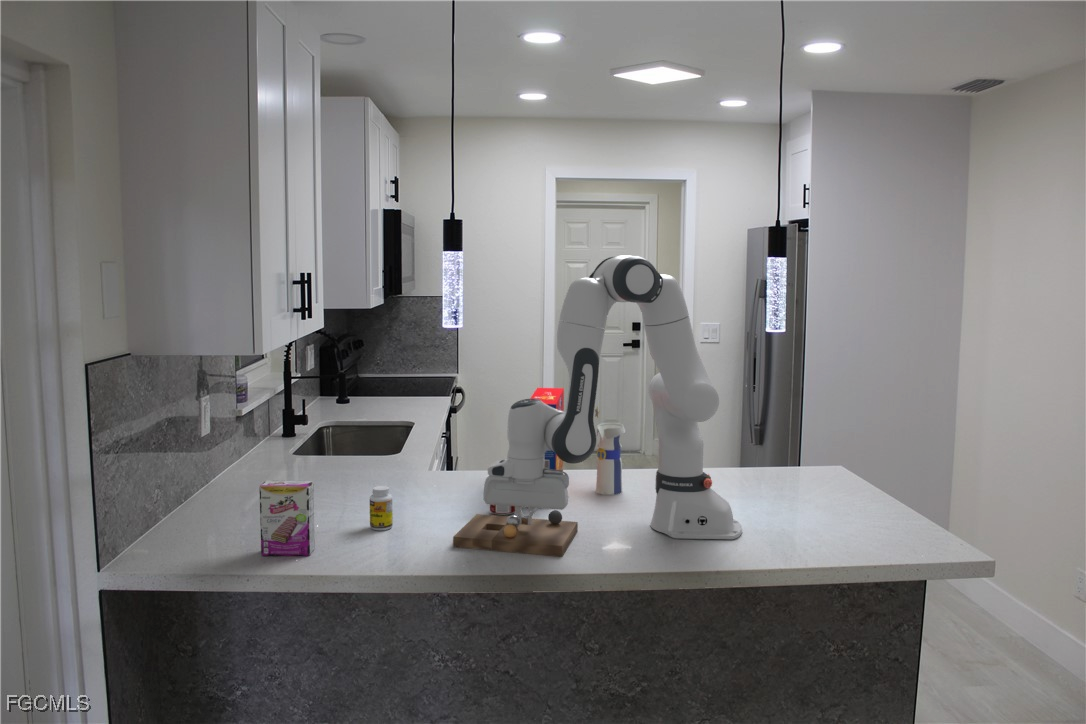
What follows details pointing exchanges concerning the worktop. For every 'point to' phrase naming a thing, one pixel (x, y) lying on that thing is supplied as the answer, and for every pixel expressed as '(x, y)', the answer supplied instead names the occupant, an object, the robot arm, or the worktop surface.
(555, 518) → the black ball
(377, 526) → the supplement bottle
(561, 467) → the pasta box
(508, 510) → the soda can
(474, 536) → the board
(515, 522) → the steel ball
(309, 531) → the candy bar box
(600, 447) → the white tall bottle
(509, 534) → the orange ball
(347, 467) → the worktop surface
